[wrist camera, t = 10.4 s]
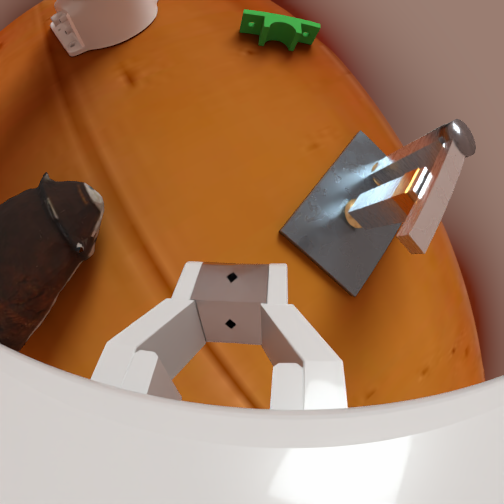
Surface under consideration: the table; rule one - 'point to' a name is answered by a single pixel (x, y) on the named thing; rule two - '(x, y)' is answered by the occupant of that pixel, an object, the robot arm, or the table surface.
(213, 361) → the table surface
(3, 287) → the dark brown oval body
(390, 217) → the post
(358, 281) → the bolt hole plate
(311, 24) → the pipe clamp
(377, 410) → the robot arm
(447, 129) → the grey metal upright piece
